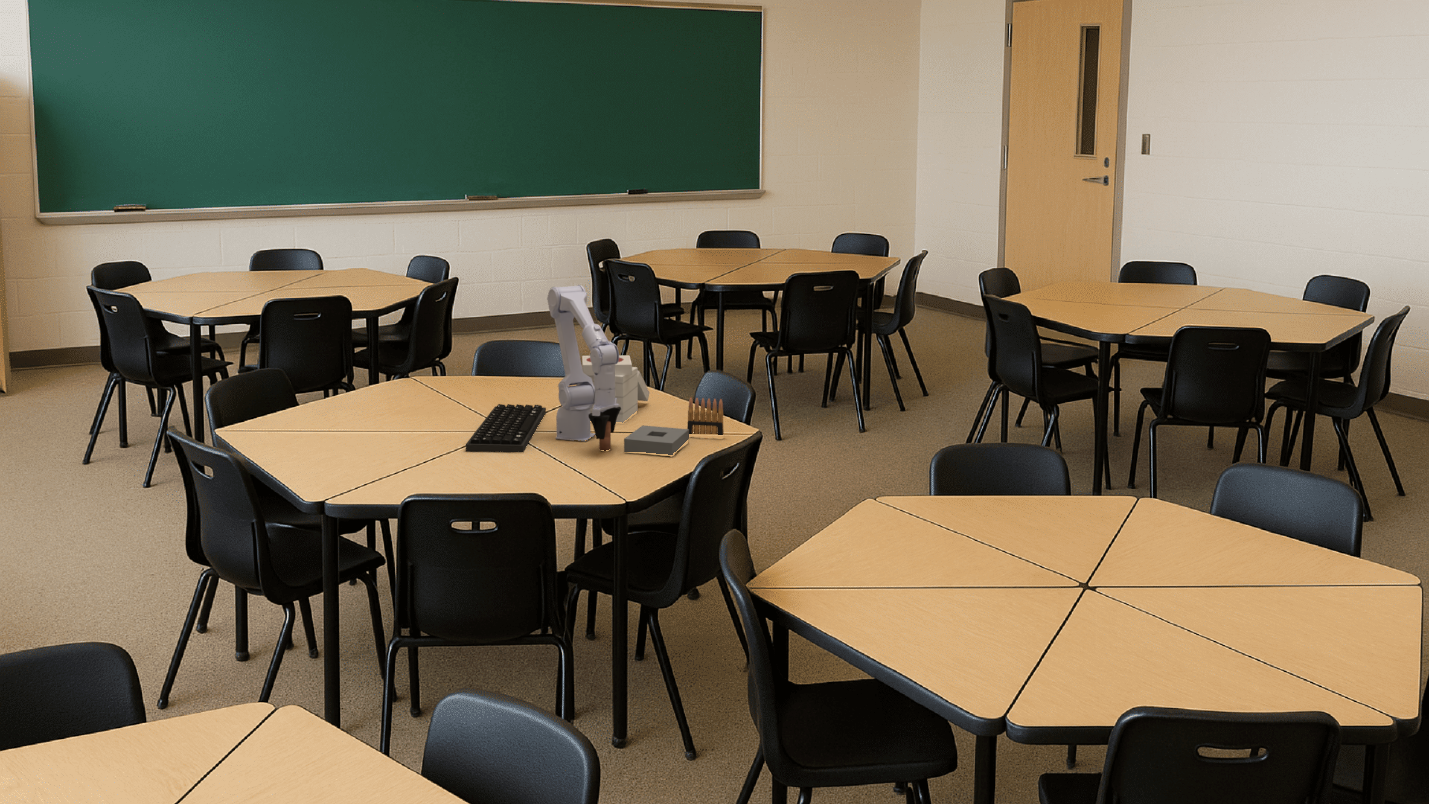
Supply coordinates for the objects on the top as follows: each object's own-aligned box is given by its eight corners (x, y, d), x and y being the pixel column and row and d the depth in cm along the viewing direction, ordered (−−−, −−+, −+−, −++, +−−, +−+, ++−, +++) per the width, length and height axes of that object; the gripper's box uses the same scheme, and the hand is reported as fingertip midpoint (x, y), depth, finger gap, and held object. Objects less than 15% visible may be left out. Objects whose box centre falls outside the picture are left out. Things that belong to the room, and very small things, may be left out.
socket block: (624, 452, 323) (624, 438, 322) (642, 438, 338) (642, 425, 337) (672, 457, 319) (672, 443, 318) (688, 442, 334) (688, 429, 333)
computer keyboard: (523, 454, 321) (523, 441, 321) (465, 453, 321) (465, 440, 320) (545, 415, 365) (545, 403, 364) (495, 414, 365) (495, 402, 364)
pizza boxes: (655, 404, 380) (655, 350, 376) (626, 426, 352) (626, 367, 347) (599, 400, 384) (599, 346, 380) (567, 421, 356) (566, 363, 352)
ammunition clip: (723, 438, 340) (724, 398, 338) (722, 439, 339) (723, 399, 336) (687, 436, 342) (688, 396, 339) (686, 437, 340) (687, 397, 337)
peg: (597, 451, 324) (597, 423, 322) (601, 448, 327) (601, 420, 325) (608, 452, 323) (608, 424, 321) (612, 449, 326) (612, 421, 324)
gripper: (609, 394, 313) (609, 443, 316) (627, 383, 327) (627, 430, 330) (584, 392, 315) (585, 441, 318) (603, 382, 329) (603, 428, 332)
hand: (605, 435), depth 324 cm, fingers open, 7 cm apart
